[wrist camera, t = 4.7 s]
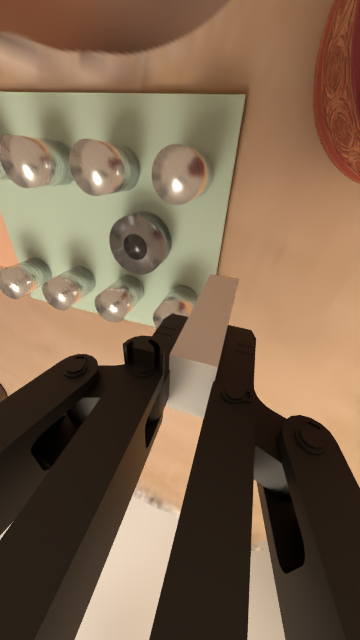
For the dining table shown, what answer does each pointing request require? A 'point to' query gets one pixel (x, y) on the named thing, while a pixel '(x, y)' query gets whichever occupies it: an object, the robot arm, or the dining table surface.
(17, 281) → the spacers
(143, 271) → the dark grey disc
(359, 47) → the canister
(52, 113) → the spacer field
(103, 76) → the dining table surface
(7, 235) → the tile
